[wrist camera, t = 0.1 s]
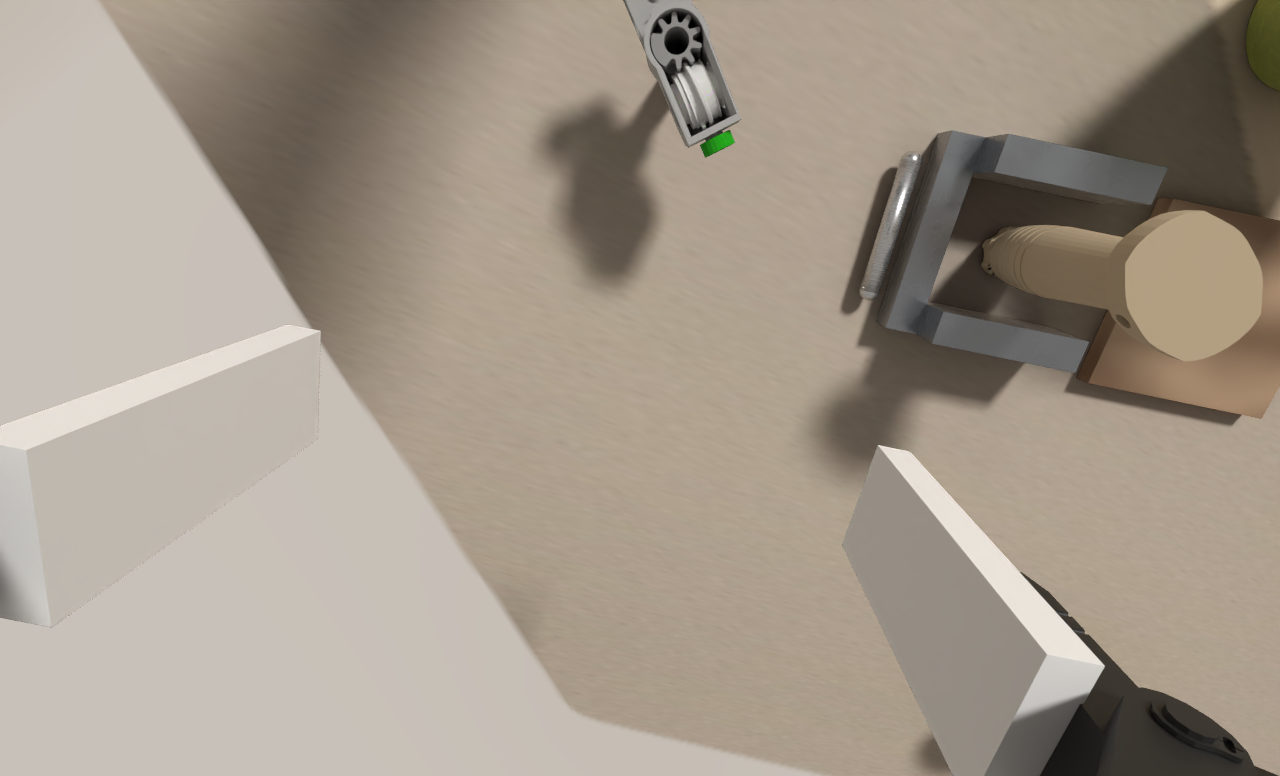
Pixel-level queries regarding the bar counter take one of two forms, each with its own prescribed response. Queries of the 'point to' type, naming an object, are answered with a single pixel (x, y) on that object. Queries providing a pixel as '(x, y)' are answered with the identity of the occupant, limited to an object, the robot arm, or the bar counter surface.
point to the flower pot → (1265, 42)
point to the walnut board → (1219, 381)
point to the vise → (937, 217)
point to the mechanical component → (686, 70)
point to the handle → (1143, 277)
